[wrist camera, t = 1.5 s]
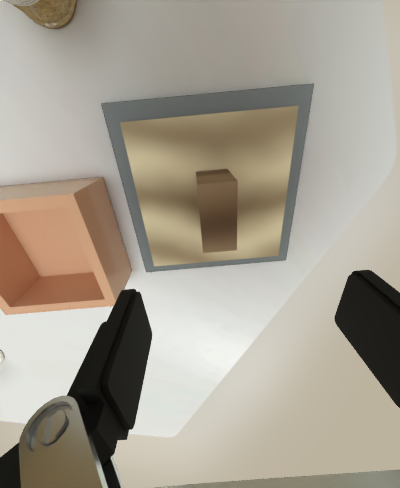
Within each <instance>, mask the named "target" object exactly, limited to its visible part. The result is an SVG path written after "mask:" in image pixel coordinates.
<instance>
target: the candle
mask: <svg viewBox="0 0 400 488" xmlns="http://www.w3.org/2000/svg"><path fill="white" fill-rule="evenodd" d="M3 359H4V355H3V353H2V352H1V351H0V363H1V362H2V361H3Z"/></svg>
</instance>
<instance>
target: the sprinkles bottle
mask: <svg viewBox="0 0 400 488" xmlns="http://www.w3.org/2000/svg"><path fill="white" fill-rule="evenodd" d="M4 1H6V2H8V3H11V4H12V5H14V6H15V7H17V8H18V9H20V10H21V11H23V12H24V13H25V14H26V15H27V16H28V17H29V18H31V19H32V20H33V21H34V22H36V23H38V24H39V25H41V26H44V27H48V28H58V27H61V26H63V25H64V24H66V23H67V22H68V21H69V20H70V18H71V17H72V15H73V13H74V9H75V1H76V0H4Z"/></svg>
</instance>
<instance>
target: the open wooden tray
mask: <svg viewBox="0 0 400 488" xmlns="http://www.w3.org/2000/svg"><path fill="white" fill-rule="evenodd" d="M131 272H132V269H131V266H130V263H129V260H128V257H127V253H126V250H125V247H124V244H123V240H122V237H121V234H120V231H119V228H118V224H117V221H116V218H115V215H114V212H113V208H112V205H111V202H110V199H109V195H108V192H107V189H106V186H105V183H104V179H103V177H97V178H86V179H75V180H64V181H53V182H42V183H31V184H20V185H9V186H0V308H1V310H2V311H3V312H4V313H5V315H10V314H22V313H33V312H45V311H57V310H69V309H81V308H93V307H105V306H114V305H115V303H116V300H117V298H118V296H119V294H120V292H121V291H122V290H124V288H125V286H126V284H127V281H128V279H129V276H130V274H131Z"/></svg>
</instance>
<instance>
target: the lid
mask: <svg viewBox="0 0 400 488" xmlns="http://www.w3.org/2000/svg"><path fill="white" fill-rule="evenodd" d="M298 107H299V106H289V107H279V108H268V109H257V110H247V111H236V112H225V113H214V114H204V115H193V116H182V117H172V118H161V119H150V120H139V121H129V122H120V125H121V129H122V133H123V138H124V142H125V146H126V150H127V154H128V159H129V163H130V167H131V171H132V175H133V180H134V184H135V188H136V192H137V196H138V201H139V205H140V209H141V213H142V217H143V222H144V226H145V230H146V234H147V238H148V243H149V247H150V251H151V255H152V259H153V264H154V266H166V265H177V264H189V263H200V262H212V261H224V260H235V259H247V258H259V257H270V256H278V255H279V248H280V240H281V233H282V225H283V218H284V211H285V203H286V196H287V188H288V181H289V174H290V166H291V159H292V151H293V144H294V137H295V129H296V122H297V114H298Z"/></svg>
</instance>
